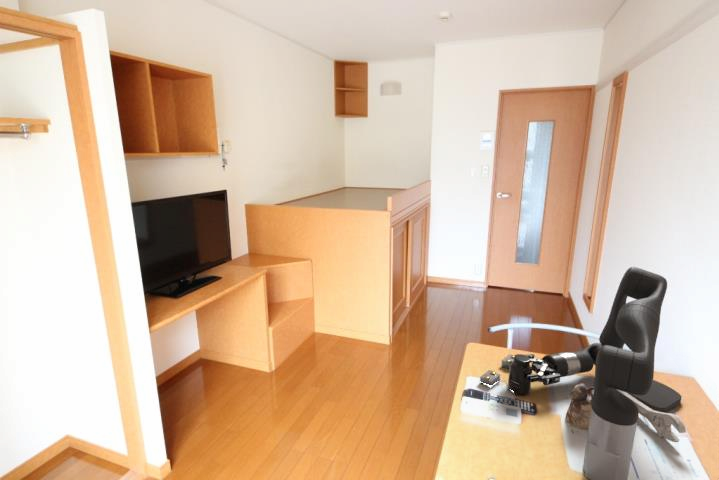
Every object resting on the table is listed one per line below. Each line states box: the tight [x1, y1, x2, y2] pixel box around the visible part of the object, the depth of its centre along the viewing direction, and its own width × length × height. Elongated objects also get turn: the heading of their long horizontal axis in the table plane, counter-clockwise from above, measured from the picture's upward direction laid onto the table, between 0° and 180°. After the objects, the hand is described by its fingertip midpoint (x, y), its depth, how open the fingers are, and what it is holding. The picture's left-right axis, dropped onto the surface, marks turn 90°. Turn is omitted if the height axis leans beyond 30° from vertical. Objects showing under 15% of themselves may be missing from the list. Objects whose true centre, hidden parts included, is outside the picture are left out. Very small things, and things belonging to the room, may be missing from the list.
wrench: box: [618, 390, 687, 443], centre depth 117 cm, size 8×2×30 cm
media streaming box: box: [626, 379, 682, 413], centre depth 126 cm, size 15×15×3 cm
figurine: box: [564, 383, 594, 430], centre depth 114 cm, size 7×7×12 cm
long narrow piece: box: [479, 353, 516, 385], centre depth 140 cm, size 21×4×3 cm, turn 134°
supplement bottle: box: [507, 353, 533, 397], centre depth 129 cm, size 7×7×12 cm
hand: (518, 371), depth 128 cm, fingers open, 8 cm apart
